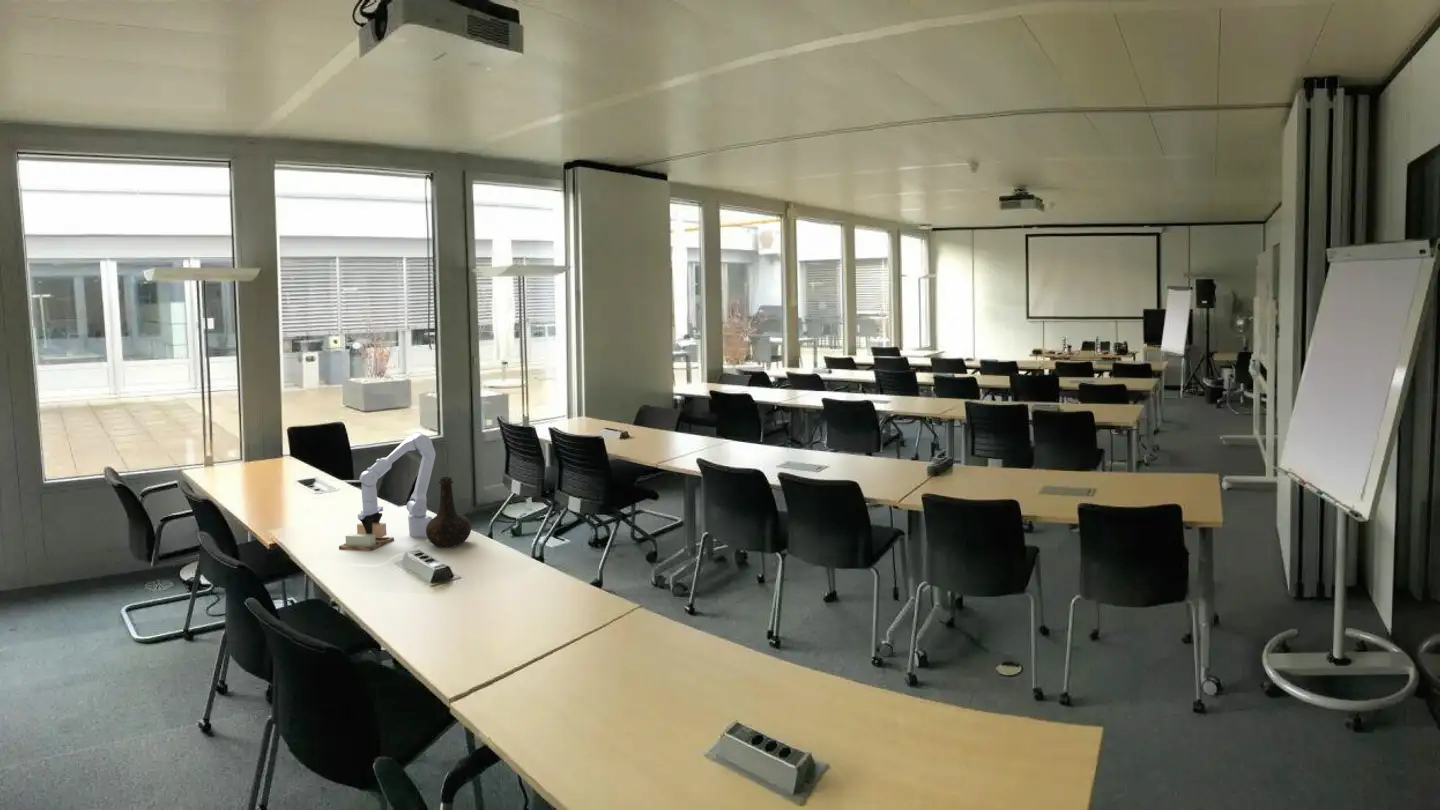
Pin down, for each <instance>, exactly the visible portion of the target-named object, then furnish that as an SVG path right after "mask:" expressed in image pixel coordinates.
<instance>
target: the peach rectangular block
mask: <svg viewBox="0 0 1440 810" xmlns="http://www.w3.org/2000/svg"><path fill="white" fill-rule="evenodd" d="M356 531H357V533H356V534H366V531H365V528H364V526H363V524H362V522H359V523H357V524H356ZM372 534H374V535H375V537H387V535H388V534H387V523H385V522H379V523H373V524H372Z"/></svg>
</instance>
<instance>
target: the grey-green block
mask: <svg viewBox="0 0 1440 810" xmlns="http://www.w3.org/2000/svg"><path fill="white" fill-rule="evenodd" d="M345 543H346V546H362V547H373V546H375V545H376V541H375V535H374V534H357V533H349V534H347V535H345Z"/></svg>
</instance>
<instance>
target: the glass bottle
mask: <svg viewBox="0 0 1440 810" xmlns="http://www.w3.org/2000/svg"><path fill="white" fill-rule="evenodd" d="M452 479H453V478H452V476H443V477H440V479H439V482H438V484H440V489H439V490H440V491H439V493H440V497H439V498H440V499H439V507H438V512H437V514H436V515H435V516H434V517H432V520H430V522H429V523H428V524H427V527H426V535H427V537H426V538H427V539H428V540H429V542H430V543H431V544H432V545H434V546H436V547H437V548H453V546H454V547H458V546H460V545H461V544H463V543H465V542H466V541H467V539H468V538H469V537H470V534H471V532H472V523H471V522H470V520H469V518H468V517H466V516H465V515H463V514H459V513H457V511H456V507H455V502H454V494H453V486H452V484H453V483H454V480H452Z"/></svg>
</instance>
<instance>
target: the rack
mask: <svg viewBox="0 0 1440 810" xmlns="http://www.w3.org/2000/svg"><path fill="white" fill-rule="evenodd" d="M375 541H376V545H375V546H373V547H362V546H346V542H345V543H343V544H341V545H339V546H338V549H339V550H351V551H375V550H376V549H379V548H381V547H383V546H385V545H388V544H389V543H391V542H393V541H395V538H394V537H392V536H383V537H375Z"/></svg>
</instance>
